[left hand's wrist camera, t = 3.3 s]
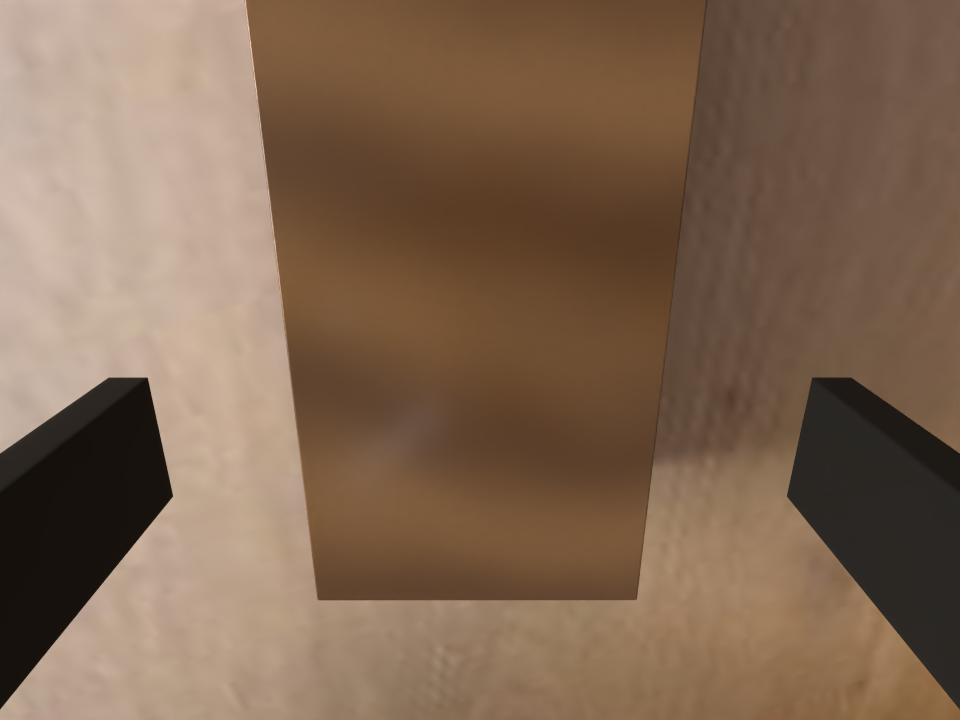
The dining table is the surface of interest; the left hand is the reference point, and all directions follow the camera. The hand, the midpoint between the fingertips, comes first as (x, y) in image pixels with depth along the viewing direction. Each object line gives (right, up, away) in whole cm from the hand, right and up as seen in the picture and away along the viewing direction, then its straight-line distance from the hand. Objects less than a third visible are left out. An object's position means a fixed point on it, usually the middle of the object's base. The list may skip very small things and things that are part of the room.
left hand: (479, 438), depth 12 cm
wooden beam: (0, +31, 0) cm, 31 cm away
